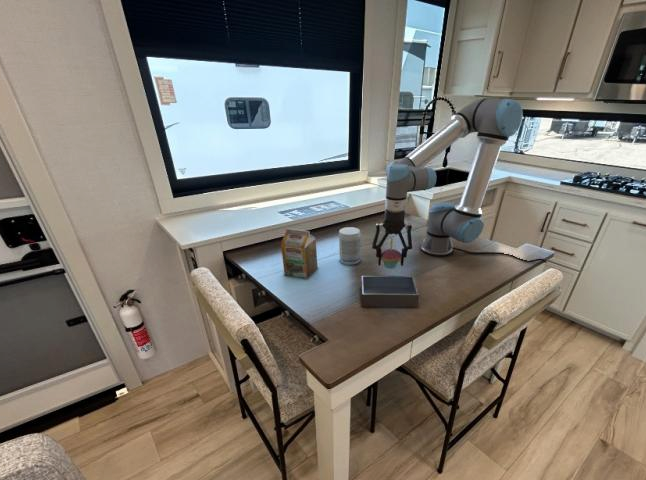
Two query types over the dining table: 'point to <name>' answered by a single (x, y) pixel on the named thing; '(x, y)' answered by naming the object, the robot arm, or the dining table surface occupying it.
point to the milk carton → (299, 253)
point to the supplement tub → (349, 245)
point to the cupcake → (391, 257)
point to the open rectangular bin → (389, 291)
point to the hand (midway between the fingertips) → (390, 264)
